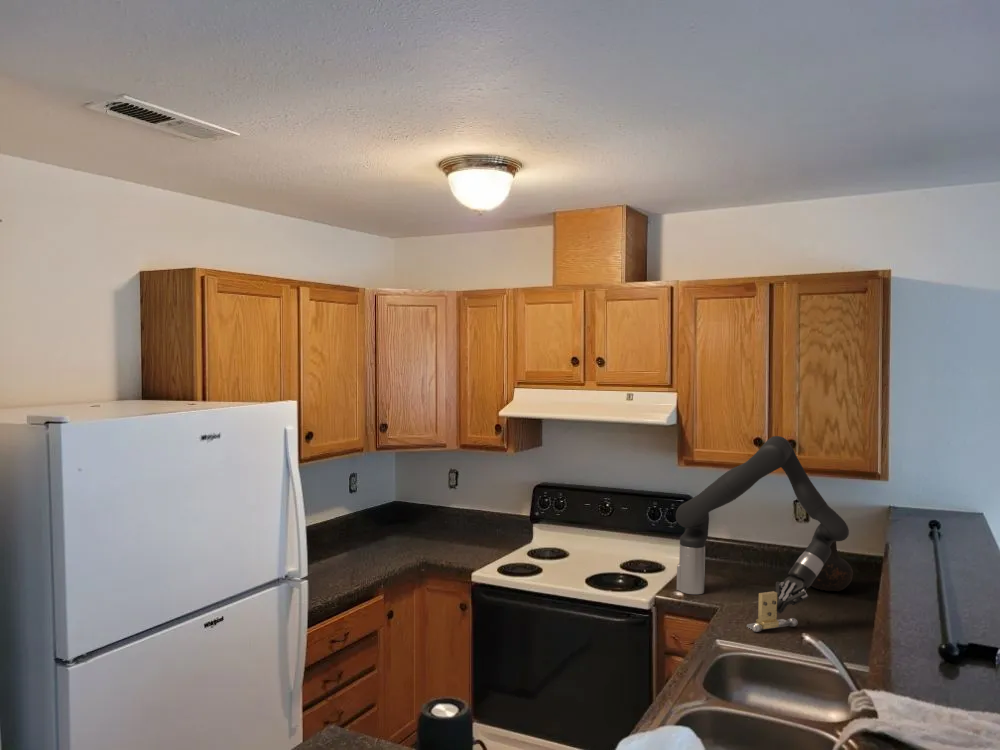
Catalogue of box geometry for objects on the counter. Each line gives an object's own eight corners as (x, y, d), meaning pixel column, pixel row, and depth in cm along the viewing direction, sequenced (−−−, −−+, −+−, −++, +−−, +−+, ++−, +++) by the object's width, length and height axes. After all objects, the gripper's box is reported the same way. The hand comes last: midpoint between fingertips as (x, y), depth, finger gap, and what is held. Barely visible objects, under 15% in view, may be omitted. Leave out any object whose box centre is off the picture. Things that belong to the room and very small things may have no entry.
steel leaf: (756, 633, 235) (756, 625, 235) (744, 627, 241) (744, 619, 241) (798, 627, 242) (798, 619, 242) (785, 621, 247) (786, 613, 247)
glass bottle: (793, 587, 285) (795, 514, 285) (813, 578, 298) (814, 508, 297) (841, 599, 272) (843, 522, 272) (859, 589, 285) (861, 516, 284)
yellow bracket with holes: (763, 628, 236) (764, 595, 236) (755, 625, 239) (756, 592, 239) (778, 626, 238) (779, 593, 238) (770, 622, 241) (771, 590, 241)
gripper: (828, 581, 239) (798, 625, 235) (797, 571, 251) (768, 612, 247) (815, 567, 237) (785, 610, 233) (785, 557, 249) (755, 598, 245)
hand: (776, 611), depth 240 cm, fingers closed
